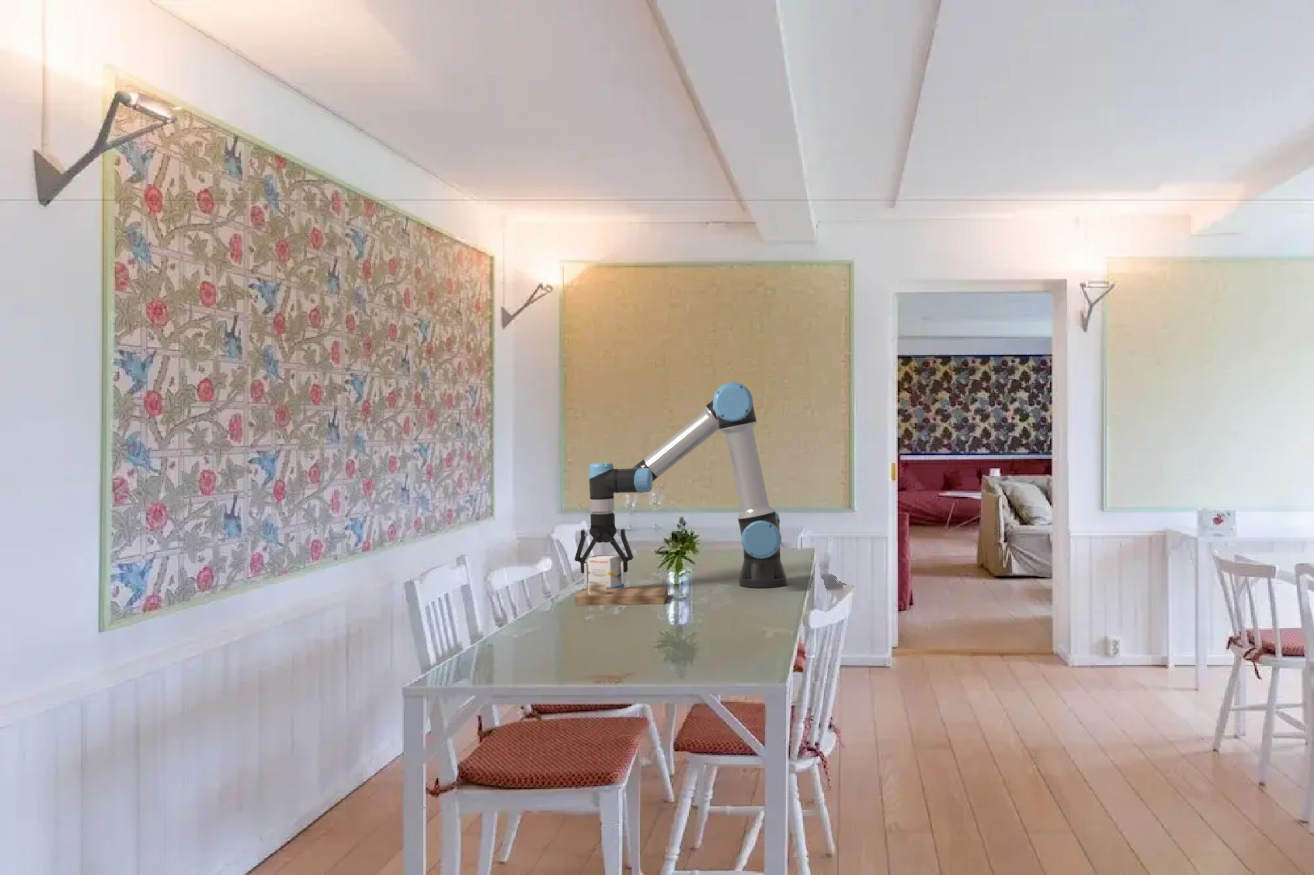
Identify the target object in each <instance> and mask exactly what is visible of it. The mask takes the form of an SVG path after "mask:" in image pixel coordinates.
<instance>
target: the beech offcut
mask: <svg viewBox="0 0 1314 875" xmlns="http://www.w3.org/2000/svg"><path fill="white" fill-rule="evenodd" d="M587 589H588V594H589V595H590V596H591V595H607V590H606V583H605V582H602V583H588V584H587Z"/></svg>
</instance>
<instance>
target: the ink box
mask: <svg viewBox="0 0 1314 875" xmlns="http://www.w3.org/2000/svg"><path fill="white" fill-rule="evenodd" d="M622 561H623V560H622V559H621V557H620V556H619V554H606V553H605V554H602V553H600V554H597V555H592V556H590V557H589V556H588V557H587V559H586V562H587V565H588V583H602V582H605V583H606V588H625V583H624V584H621V562H622Z"/></svg>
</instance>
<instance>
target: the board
mask: <svg viewBox="0 0 1314 875" xmlns="http://www.w3.org/2000/svg"><path fill="white" fill-rule="evenodd" d="M606 590H607V595H591V596H590V595H589V594H588V588H582V589H581V590H580V591H579V592H577V594H576V595H575V596H574V604H575V606H600V605H602V606H605V605H606V606H607V605H608V606H610V605H611V606H612V605H613V606H615V605H616V606H617V605H664V604H665V602H666V600H667V597H668V596H669V592H668V590H669V588H668V587H666V586H665V587H661V586H660V587H624V588H606Z"/></svg>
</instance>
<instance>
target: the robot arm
mask: <svg viewBox="0 0 1314 875" xmlns="http://www.w3.org/2000/svg"><path fill="white" fill-rule="evenodd" d="M753 401H754V400H753V395H752V393H751V391H750V390H749V388H748V387H747V386H745V384H742V383H740V382H735V381H730V382H727V383H724V384H721V385H720V387H718V388H717V390H715V392H714V395H713V399H712V400H711V401H709V403H707V404H706V405H705V406H704V411H702V412H701V413H700V414H699V415H697V416H696V417H695V418H693V419H692V420H691V421H690V422H688V423H687V424H686V425H685V426H683V427H682V428H681V429H680V430H678V431H676V433H674V434H673V435H672V436H671V437H670V438H669V439H667V440H666V441H664V443H662V444H661V445H660V446H658V447H657V448H655V450H653V451H652V452H651V453H649V454H648V455H647V456H645V458H643V459H642V460H641V461H639V462H637V464H636V465H634V466H633V467H632V468H631V467H630V468H614V464H613V463H612V462H593V463H591V464H590V465H589V469H588V470H589V473H588V474H589V475H588V476H589V477H588V484H589V511H590V513H591V514H590V528H589V529H582V530H580V540H579V542H578V546H577V550H576V553H575V557H574V561H575V562H578V563H580V572H581V574H583V575H584V585H588V565H587V558H589V555H590V554H591V552H592V551H593V549H594V547H595V546H596V544H597V543H598V544H600V543H610V545H611V546H612V547H613V549H614V550H615V551H616V553H617V555H619V556H620V557H621V559H622V560H623V561H622V562H621V584H624V585H625V582H626V578H625V577H626V576H625V574H626V573H627V572H628V571H629V569H628V568H629V566H628V563H629V561H631V560H633V559H634V555H633V553H632V550H631V546H630V544H629V542H628V538H627V536H626V528H623V527H622V528H621V529H620V528H617V527H616V514H615V513H614V511H615V494H621V493H623V494H625V493H626V494H627V493H628V494H630V493H631V494H634V493H636V494H638V493H639V494H643V493H649V492H652V490H653V482H655V480H656V479H658V478H659V477H660V476H661V475H663V474H664V473H665V472H666V471H668V470H669V469H670V468H672V467H673V466H675V465H676V464H677V463H678V462H679V461H681V460H682V459H683V458H685V457H686V456H687V455H689V453H691V452H692V451H693V450H695V449H696V448H697V447H699V446H700V445H701V444H703V443H704V442H705V441H706V440H707V439H709V438H710V437H711V436H713V435H714V434H716V432H718V431H720V432H721V433H723V434H724V435H725V438H726V444H727V449H728V451H729V457H730V462H731V467H732V473H733V477H734V482H735V485H736V491H737V496H738V501H739V502H738V503H739V506H740V510H741V512H740V513H739V515H738V516H737V520H738V525H739V531H740V535H741V545H742V548H743V562H742V566H741V570H740V573H739V576H738V585H740V586H741V587H744V588H755V589H756V588H757V589H759V588H760V589H761V588H764V589H765V588H778V587H783V586H785V585H787V580H788V579H787V574H786V572H785V569H784V566H783V563H782V561H781V559H782V558H781V545H782V533H781V532H780V523H781V519H780V514H779V513H778V512H776V509H774V508H773V507H771V506H770V502H769V498H768V495H767V489H766V484H765V479H764V476H763V475H764V474H763V470H762V466H761V461H760V456H759V450H758V447H757V441H756V436H755V433H754V428H755V426H756V425H757V423H758V420H757V417H756V412H755V406H754V402H753ZM589 534H590V536H591V537H592V540H591V541H590V543H589V545H588V547H587V548H586V550H585V552H584V553H583V556H582V557H581V555H582V552H583V549H584V545H585V542H586V539H587V537H588V536H589ZM616 534H617V535H618V537H620V540H621V542H622V545H623V548H624V550H625V552H624V551H623V549H622V548H621V547H620V545H619V543H618V541H616V538H615V536H616ZM625 553H626V554H625Z"/></svg>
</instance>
